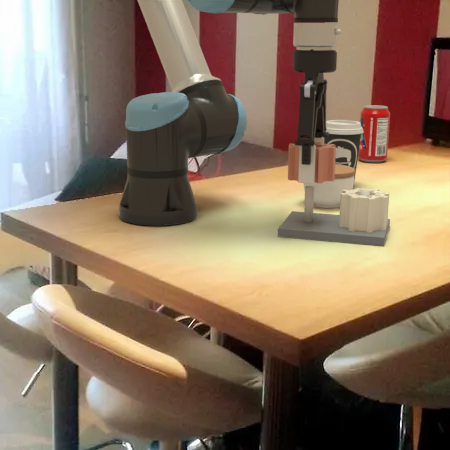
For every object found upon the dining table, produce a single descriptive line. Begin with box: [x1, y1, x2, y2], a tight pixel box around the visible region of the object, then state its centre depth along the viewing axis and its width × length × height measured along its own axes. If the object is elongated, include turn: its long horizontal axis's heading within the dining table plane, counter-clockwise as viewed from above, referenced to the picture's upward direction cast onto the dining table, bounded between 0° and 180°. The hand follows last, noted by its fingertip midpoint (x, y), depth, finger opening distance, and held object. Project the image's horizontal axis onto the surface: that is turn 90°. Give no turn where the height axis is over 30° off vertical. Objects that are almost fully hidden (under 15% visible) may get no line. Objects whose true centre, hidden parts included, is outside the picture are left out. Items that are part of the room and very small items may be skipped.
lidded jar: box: [302, 164, 356, 209], centre depth 153 cm, size 11×11×9 cm
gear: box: [287, 142, 336, 184], centre depth 133 cm, size 8×8×6 cm
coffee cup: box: [322, 119, 364, 189], centre depth 169 cm, size 10×10×15 cm
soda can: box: [358, 104, 391, 164], centre depth 202 cm, size 8×8×15 cm
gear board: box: [276, 186, 391, 247], centre depth 134 cm, size 19×13×8 cm
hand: (311, 177), depth 134 cm, fingers closed on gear, 9 cm apart
